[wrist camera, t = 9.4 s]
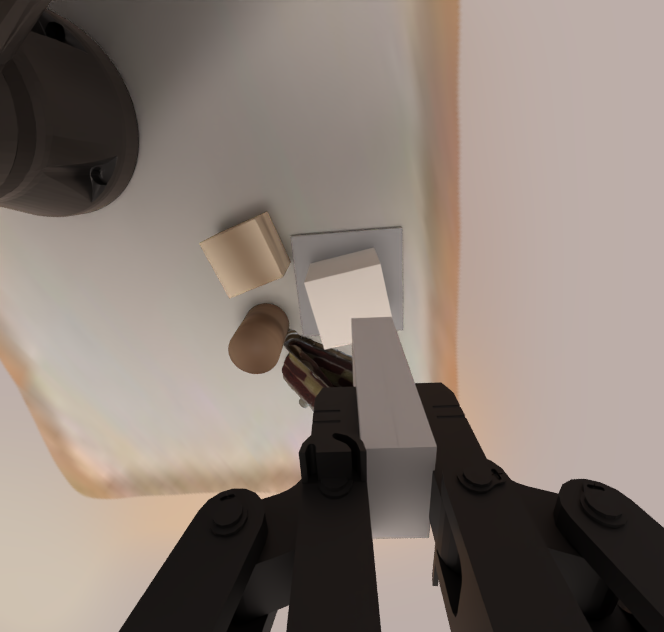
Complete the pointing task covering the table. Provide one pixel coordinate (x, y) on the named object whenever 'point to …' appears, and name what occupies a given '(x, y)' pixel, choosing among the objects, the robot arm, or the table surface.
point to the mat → (348, 242)
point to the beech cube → (247, 255)
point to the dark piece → (314, 368)
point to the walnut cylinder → (259, 339)
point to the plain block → (346, 294)
